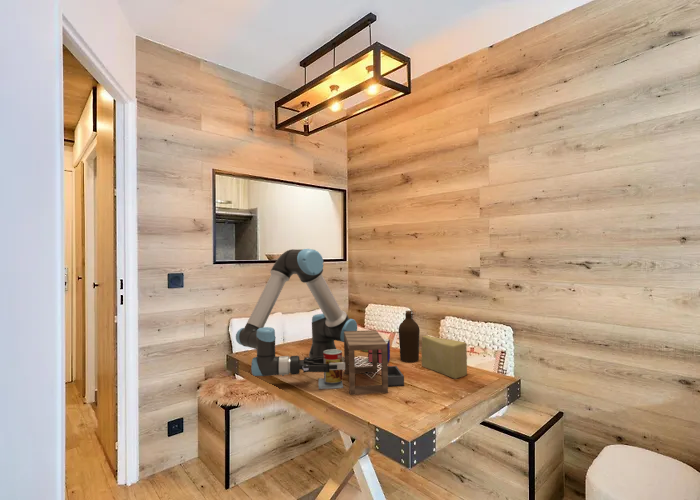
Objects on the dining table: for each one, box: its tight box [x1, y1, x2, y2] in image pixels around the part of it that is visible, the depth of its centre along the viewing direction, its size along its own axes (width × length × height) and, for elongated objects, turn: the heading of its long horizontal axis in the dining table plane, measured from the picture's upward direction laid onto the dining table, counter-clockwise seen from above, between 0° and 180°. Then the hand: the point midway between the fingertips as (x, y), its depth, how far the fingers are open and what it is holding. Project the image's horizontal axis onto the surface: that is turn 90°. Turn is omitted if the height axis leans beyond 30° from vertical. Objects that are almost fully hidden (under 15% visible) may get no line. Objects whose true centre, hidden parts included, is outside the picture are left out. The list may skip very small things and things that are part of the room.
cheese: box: [421, 335, 468, 380], centre depth 171 cm, size 22×10×15 cm, turn 38°
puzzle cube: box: [367, 338, 391, 364], centre depth 190 cm, size 10×10×10 cm
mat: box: [318, 377, 344, 390], centre depth 157 cm, size 12×10×1 cm
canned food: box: [323, 348, 343, 383], centre depth 157 cm, size 8×8×12 cm
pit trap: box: [380, 365, 405, 388], centre depth 160 cm, size 14×7×4 cm, turn 5°
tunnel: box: [343, 329, 389, 396], centre depth 158 cm, size 27×15×19 cm, turn 5°
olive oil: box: [398, 310, 420, 363], centre depth 190 cm, size 11×11×25 cm
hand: (344, 362), depth 158 cm, fingers closed on canned food, 8 cm apart
